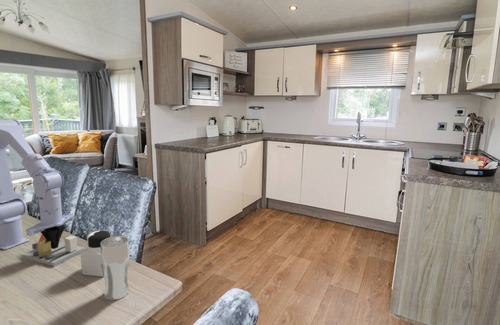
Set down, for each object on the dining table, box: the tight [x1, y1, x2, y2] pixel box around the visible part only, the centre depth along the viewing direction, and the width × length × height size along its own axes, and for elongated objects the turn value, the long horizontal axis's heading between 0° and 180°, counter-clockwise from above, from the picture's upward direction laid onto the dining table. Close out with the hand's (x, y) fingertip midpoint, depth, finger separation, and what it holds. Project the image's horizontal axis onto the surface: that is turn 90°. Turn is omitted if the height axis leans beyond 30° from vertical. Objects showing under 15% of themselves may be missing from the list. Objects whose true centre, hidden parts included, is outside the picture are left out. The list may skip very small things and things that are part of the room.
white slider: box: [64, 235, 78, 252], centre depth 91 cm, size 2×2×4 cm
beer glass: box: [100, 235, 131, 301], centre depth 72 cm, size 7×7×15 cm
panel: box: [22, 240, 86, 267], centre depth 92 cm, size 15×11×3 cm
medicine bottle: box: [80, 230, 111, 278], centre depth 83 cm, size 7×7×12 cm
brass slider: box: [37, 240, 52, 257], centre depth 88 cm, size 2×2×4 cm
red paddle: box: [35, 233, 46, 248], centre depth 93 cm, size 4×1×7 cm, turn 72°
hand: (54, 247), depth 91 cm, fingers closed
